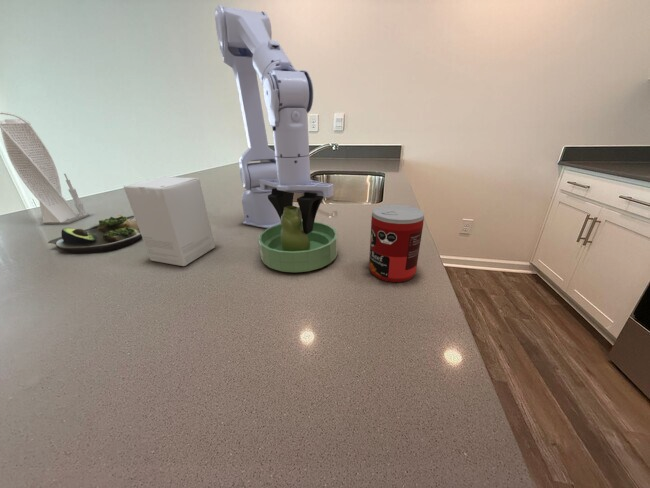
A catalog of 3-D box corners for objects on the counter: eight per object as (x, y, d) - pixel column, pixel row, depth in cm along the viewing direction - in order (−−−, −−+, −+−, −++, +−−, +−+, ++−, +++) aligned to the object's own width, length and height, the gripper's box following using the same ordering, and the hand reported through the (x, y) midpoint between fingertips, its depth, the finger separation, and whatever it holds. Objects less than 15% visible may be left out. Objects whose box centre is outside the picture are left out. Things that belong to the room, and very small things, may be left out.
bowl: (245, 263, 49) (241, 242, 47) (290, 235, 61) (289, 217, 59) (312, 283, 42) (311, 259, 40) (349, 247, 54) (349, 227, 52)
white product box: (217, 247, 56) (201, 177, 49) (184, 267, 48) (160, 188, 42) (184, 242, 58) (165, 175, 52) (148, 260, 51) (121, 185, 44)
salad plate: (105, 222, 72) (98, 207, 70) (170, 220, 72) (165, 204, 70) (38, 255, 54) (26, 235, 52) (124, 252, 55) (115, 232, 53)
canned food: (364, 261, 48) (367, 205, 44) (405, 259, 49) (412, 203, 44) (375, 285, 42) (379, 221, 37) (423, 281, 42) (433, 218, 37)
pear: (286, 250, 52) (279, 202, 48) (312, 249, 52) (307, 201, 48) (281, 264, 47) (272, 212, 43) (309, 263, 47) (303, 210, 42)
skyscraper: (63, 225, 71) (6, 111, 59) (34, 226, 71) (-28, 112, 59) (89, 215, 78) (43, 112, 66) (63, 215, 78) (13, 113, 66)
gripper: (243, 156, 43) (254, 231, 49) (317, 160, 37) (320, 245, 43) (270, 152, 49) (277, 219, 55) (339, 154, 43) (339, 230, 48)
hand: (298, 230), depth 49 cm, fingers closed on pear, 4 cm apart
